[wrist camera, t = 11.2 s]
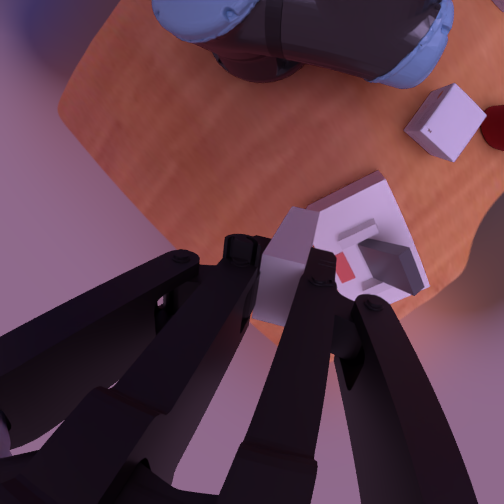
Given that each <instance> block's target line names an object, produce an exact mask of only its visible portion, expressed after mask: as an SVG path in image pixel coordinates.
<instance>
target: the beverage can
mask: <svg viewBox="0 0 504 504" xmlns="http://www.w3.org/2000/svg"><path fill="white" fill-rule="evenodd" d="M484 113H485V114H486V115H487V116H486V118H485V119H484V121H483V122H482V124H481V129H482V133H483V136H484V138H485V140H486V141H487V142H488V144H489V145H490V146H492V147H493V148H495V149H498V150H502V151H504V105H499V106H491V107H489V108H488V109H487V110H486V111H485V112H484Z"/></svg>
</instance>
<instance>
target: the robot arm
mask: <svg viewBox="0 0 504 504" xmlns="http://www.w3.org/2000/svg"><path fill="white" fill-rule="evenodd" d="M152 9H153V12H154V15H155V16H156V19H157V20H158V21H159V23H160V24H161V25H162V27H164V28H165V29H166V30H167V31H169V32H171V33H172V34H173V35H175V36H176V37H177V38H180V40H182V41H187V42H189V43H193V44H196V45H198V46H200V47H202V48H205V49H207V50H209V51H211V52H212V53H213V55H214V57H215V59H216V60H217V62H218V63H219V64H220V65H221V66H222V67H223V68H224V69H225V70H226V71H227V72H229V73H230V74H232V75H234V76H236V77H238V78H241V79H243V80H246V81H250V82H257V83H267V82H274V81H278V80H281V79H284V78H286V77H288V76H290V75H292V74H293V73H295V72H296V71H297V70H299V69H300V68H301V67H302V66H303V65H304V64H305V63H306V64H311V65H315V66H319V67H323V68H328V69H332V70H335V71H339V72H343V73H347V74H350V75H354V76H357V77H361V78H364V80H366V81H367V82H370V83H372V82H373V83H381V84H385V85H388V86H392V87H395V88H399V89H408V88H413V87H415V86H417V85H419V84H420V83H421V82H422V81H424V80H425V79H426V78H427V76H428V75H429V74H430V73H431V72H432V70H433V69H434V67H435V66H436V64H437V62H438V61H439V59H440V57H441V55H442V53H443V51H444V49H445V47H446V44H447V41H448V38H447V34H448V33H449V31H450V30H451V28H452V24H453V19H454V7H453V3H452V1H451V0H152ZM319 214H320V212H316V211H312V210H307V209H303V208H298V207H293V206H292V207H291V209H290V210H289V212H288V214H287V215H286V217H285V218H284V220H283V222H282V223H281V225H280V227H279V228H278V230H277V231H276V233H275V235H274V236H273V238H272V239H270V238H266V237H261V236H257V235H256V236H250V235H245V234H232V235H228V236H226V237H225V241H224V250H223V258H222V260H221V261H220V262H219V263H218V264H217V265H200V264H199V260H200V258H199V256H198V255H197V254H195V253H194V252H191V251H188V250H183V249H179V250H174V251H170V252H167V253H165V254H163V255H161V256H159V257H157V258H155V259H152V260H150V261H148V262H146V263H144V264H142V265H140V266H138V267H136V268H134V269H132V270H129V271H127V272H125V273H123V274H121V275H119V276H117V277H115V278H113V279H111V280H109V281H107V282H105V283H103V284H101V285H99V286H97V287H95V288H93V289H91V290H89V291H87V292H85V293H83V294H81V295H79V296H77V297H75V298H73V299H71V300H69V301H67V302H65V303H63V304H61V305H59V306H57V307H55V308H54V309H52V310H50V311H48V312H46V313H44V314H42V315H40V316H38V317H37V318H34V319H33V320H31V321H29V322H27V323H25V324H23V325H21V326H19V327H18V328H16V329H14V330H12V331H10V332H8V333H6V334H4V335H3V336H1V337H0V504H310V503H311V499H312V494H313V489H314V485H315V479H316V474H317V467H318V466H317V461H315V460H314V454H315V448H316V443H317V437H318V432H319V426H320V420H321V414H322V408H323V402H324V396H325V389H326V382H327V375H328V368H329V360H330V353H332V354H334V355H335V356H334V364H335V368H336V372H337V377H338V381H339V386H340V391H341V396H342V401H343V405H344V410H345V415H346V420H347V425H348V430H349V435H350V441H351V446H352V451H353V456H354V462H355V468H356V474H357V479H358V485H359V492H360V498H361V504H478V502H477V499H476V496H475V493H474V490H473V487H472V484H471V481H470V478H469V475H468V473H467V470H466V467H465V464H464V462H463V459H462V456H461V454H460V451H459V448H458V446H457V443H456V441H455V438H454V436H453V434H452V431H451V429H450V426H449V424H448V421H447V419H446V417H445V414H444V412H443V410H442V408H441V405H440V403H439V401H438V399H437V396H436V394H435V392H434V390H433V388H432V386H431V383H430V381H429V379H428V377H427V375H426V373H425V371H424V369H423V367H422V365H421V363H420V361H419V359H418V356H417V354H416V352H415V351H414V349H413V347H412V345H411V343H410V341H409V339H408V337H407V335H406V333H405V331H404V330H403V327H402V326H401V324H400V322H399V320H398V318H397V316H396V314H395V312H394V311H393V309H392V307H391V305H390V304H389V303H388V302H387V301H385V300H384V299H383V298H381V297H378V296H377V295H371V294H361V295H358V296H357V297H356V299H355V301H353V300H351V299H348V298H346V297H344V296H343V295H341V294H340V293H339V292H338V291H337V284H336V282H335V275H336V262H337V258H336V256H335V255H334V253H333V252H329V251H325V250H321V249H317V248H313V247H312V246H313V241H314V237H315V232H316V228H317V223H318V218H319ZM162 296H163V304H161V305H160V306H158V305H157V301H158V300H159V299H160V298H161V297H162ZM253 308H254V309H253ZM252 310H253V315H252V318H253V319H257V320H261V321H265V322H268V323H272V324H276V325H280V326H284V330H283V333H282V336H281V339H280V342H279V345H278V348H277V351H276V354H275V357H274V359H273V362H272V365H271V368H270V371H269V374H268V377H267V380H266V382H265V385H264V388H263V391H262V393H261V396H260V399H259V402H258V404H257V407H256V410H255V412H254V415H253V418H252V421H251V423H250V426H249V428H248V431H247V433H246V436H245V438H244V441H243V442H242V443H241V444H240V446H239V448H238V451H237V453H236V455H235V458H234V460H233V463H232V465H231V468H230V470H229V473H228V475H227V477H226V480H225V482H224V485H223V487H222V489H221V491H220V494H219V495H212V494H203V493H195V492H189V491H182V490H178V489H176V488H174V487H172V486H171V484H172V480H173V476H174V472H175V469H176V467H177V465H178V463H179V461H180V459H181V457H182V456H183V453H184V452H185V450H186V448H187V446H188V444H189V442H190V440H191V438H192V436H193V435H194V433H195V431H196V429H197V427H198V425H199V423H200V421H201V419H202V417H203V415H204V413H205V411H206V410H207V408H208V406H209V404H210V402H211V400H212V398H213V396H214V394H215V391H216V390H217V388H218V386H219V384H220V382H221V380H222V378H223V376H224V374H225V372H226V370H227V368H228V366H229V364H230V362H231V360H232V358H233V356H234V354H235V352H236V350H237V348H238V346H239V344H240V342H241V340H242V338H243V336H244V334H245V332H246V330H247V327H248V326H249V320H250V314H251V312H252ZM118 380H119V381H118ZM117 381H118V382H117ZM116 382H117V383H116ZM114 383H116V385H114V386H113V387H112V388H110V389H108V388H109V387H110V386H111V385H113V384H114ZM63 420H64V422H63V423H62V424H61V425H60V426H59V427H58V429H57V430H56V431H55V432H54V433H53V434H52V436H51V437H50V438H49V439H48V440H47V441H46V443H45V444H44V445H43V446H42V447H41V449H40V450H36V451H32V452H28V453H23V454H19V455H14V456H12V454H11V452H10V451H9V450H11V449H14V448H17V447H20V446H23V445H25V444H27V443H29V442H31V441H33V440H35V439H37V438H39V437H40V436H42V435H43V434H45V433H47V432H48V431H50V430H51V429H52V428H54V427H55V426H57V425H58V424H59V423H61V422H62V421H63Z"/></svg>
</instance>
